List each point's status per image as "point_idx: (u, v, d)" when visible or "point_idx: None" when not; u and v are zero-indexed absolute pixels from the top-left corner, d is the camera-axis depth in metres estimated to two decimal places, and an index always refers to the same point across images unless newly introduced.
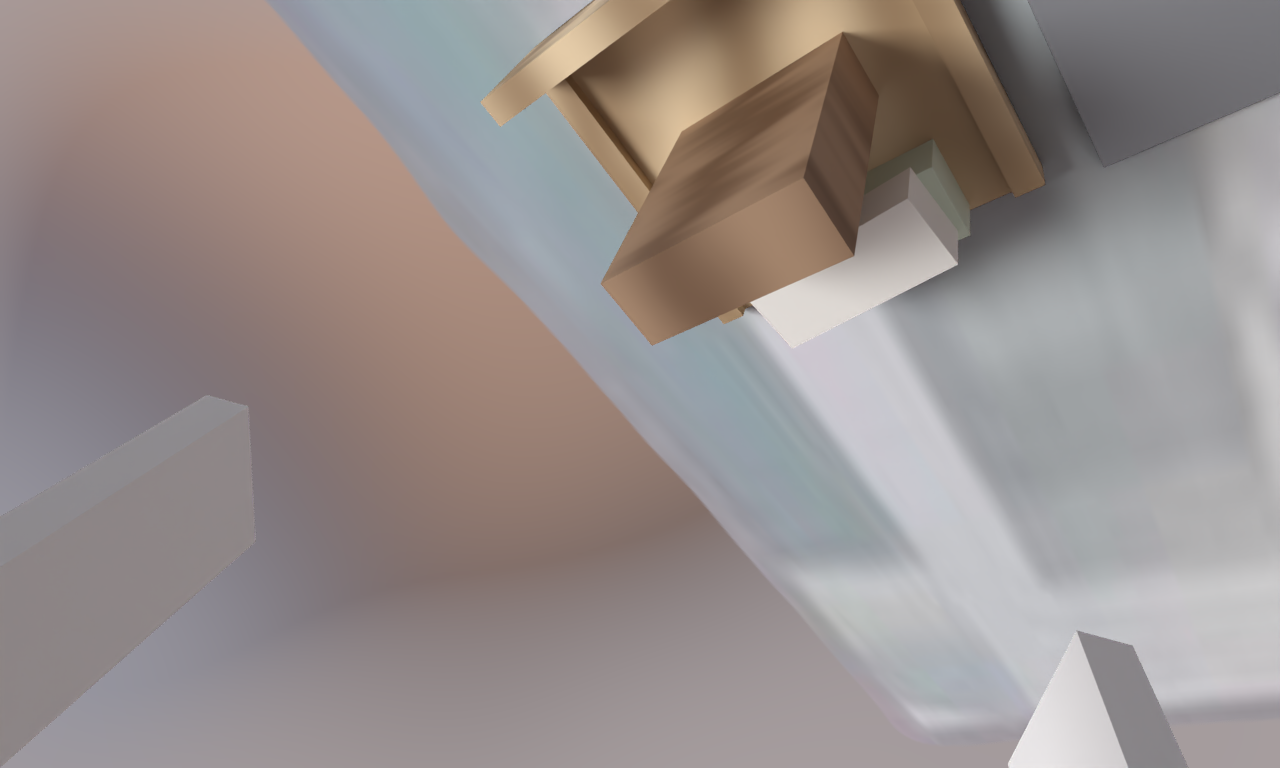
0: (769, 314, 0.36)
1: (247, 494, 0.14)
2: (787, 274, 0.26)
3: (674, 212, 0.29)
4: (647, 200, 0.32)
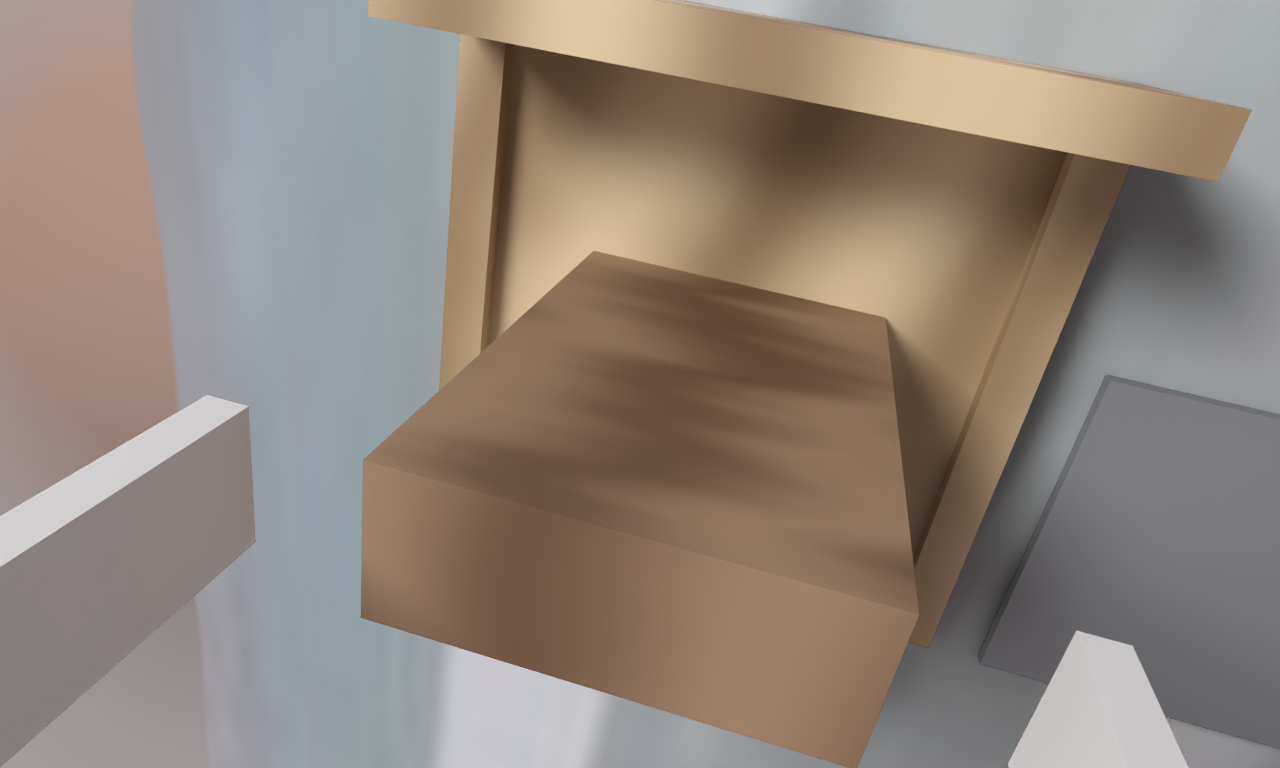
0: None
1: (247, 494, 0.14)
2: (719, 709, 0.12)
3: (575, 416, 0.14)
4: (516, 331, 0.17)
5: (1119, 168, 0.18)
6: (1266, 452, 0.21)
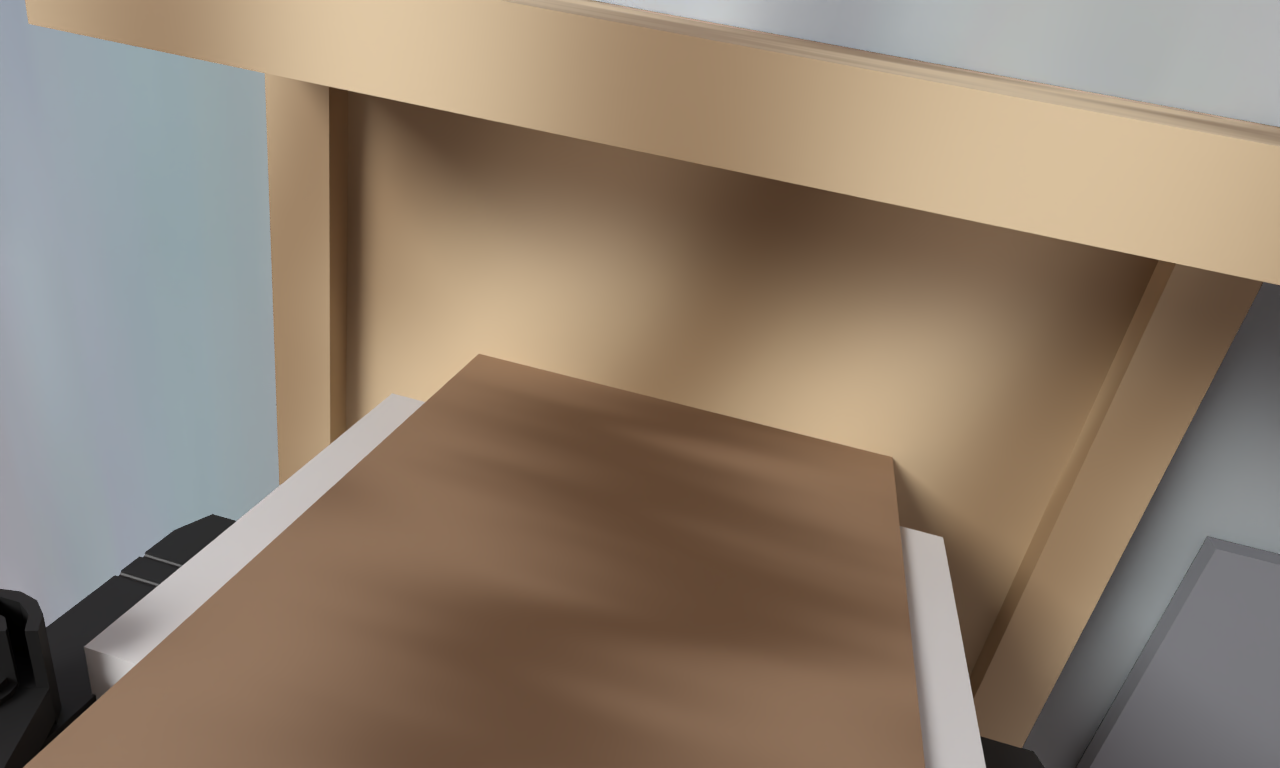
0: None
1: None
2: None
3: None
4: (288, 545, 0.10)
5: None
6: None
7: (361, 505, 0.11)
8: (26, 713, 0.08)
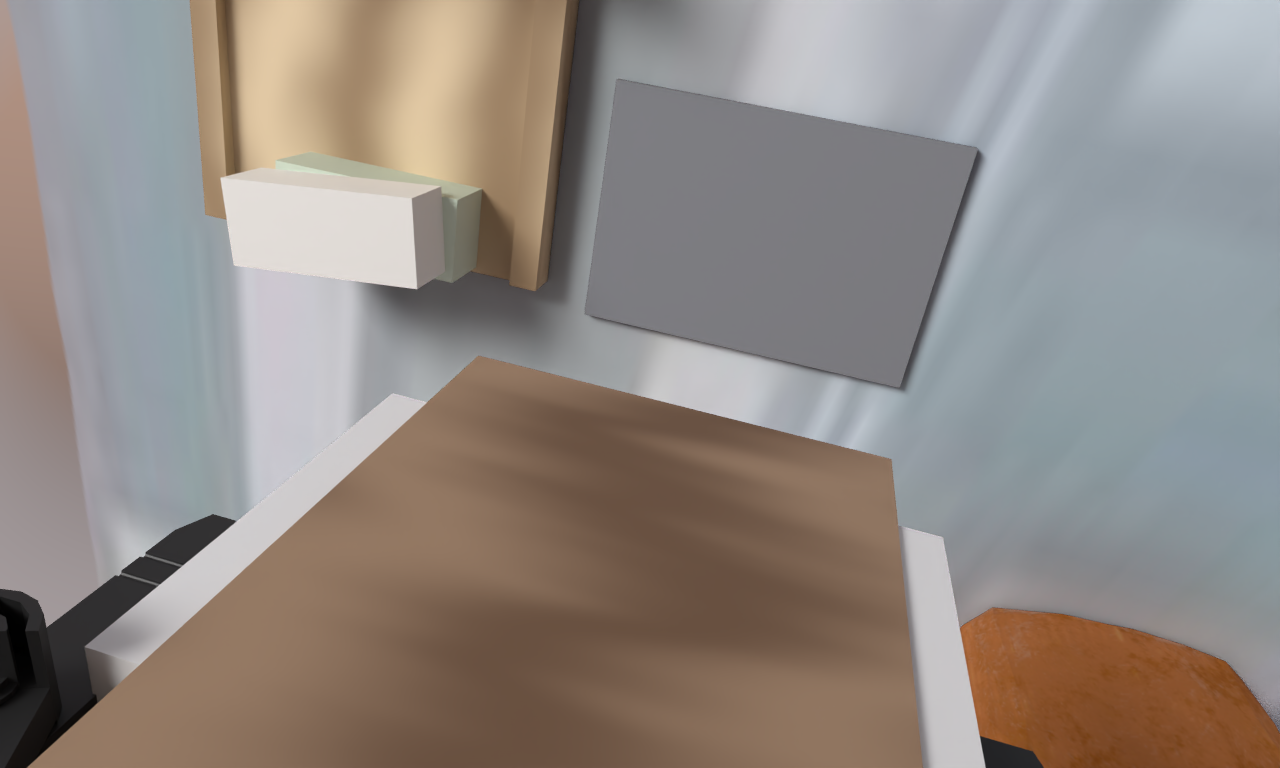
0: (233, 215, 0.32)
1: None
2: None
3: None
4: (288, 547, 0.10)
5: None
6: (716, 124, 0.32)
7: (361, 508, 0.11)
8: (27, 713, 0.08)
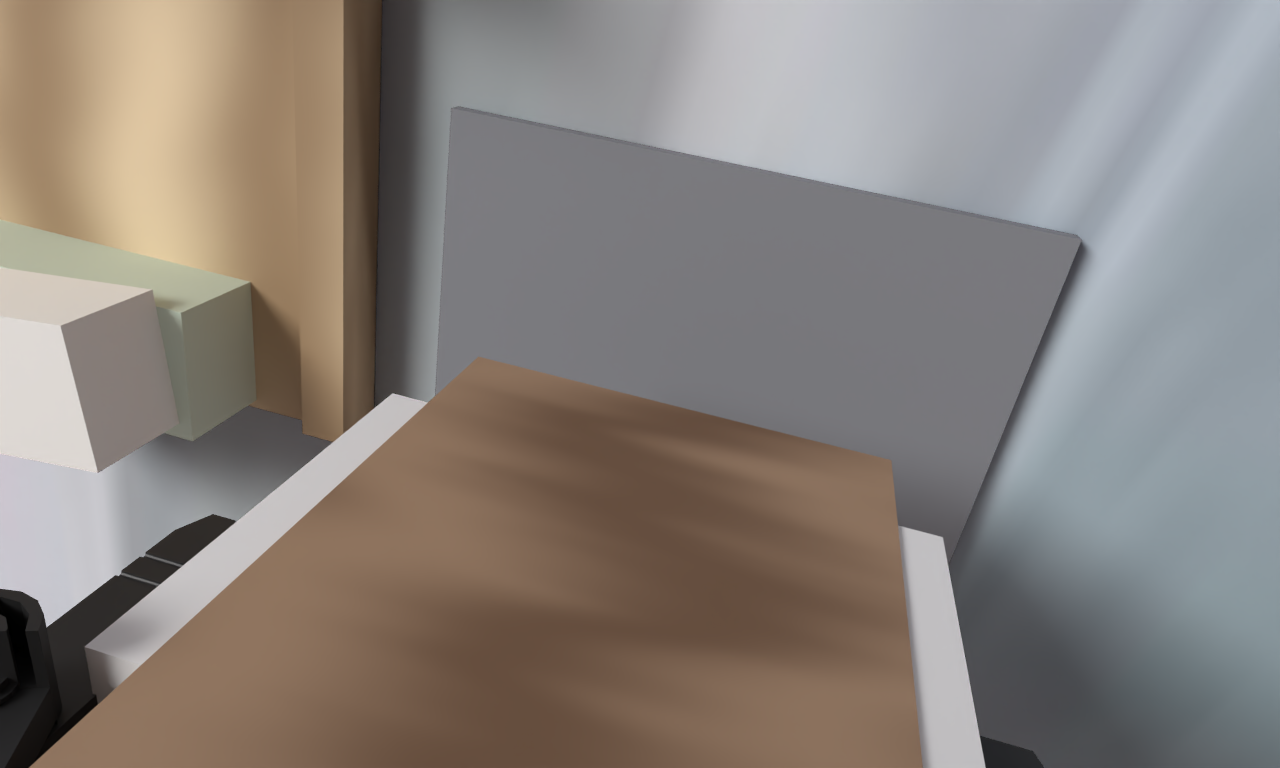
0: None
1: None
2: None
3: None
4: (287, 548, 0.10)
5: None
6: (621, 186, 0.19)
7: (361, 509, 0.11)
8: (27, 713, 0.08)
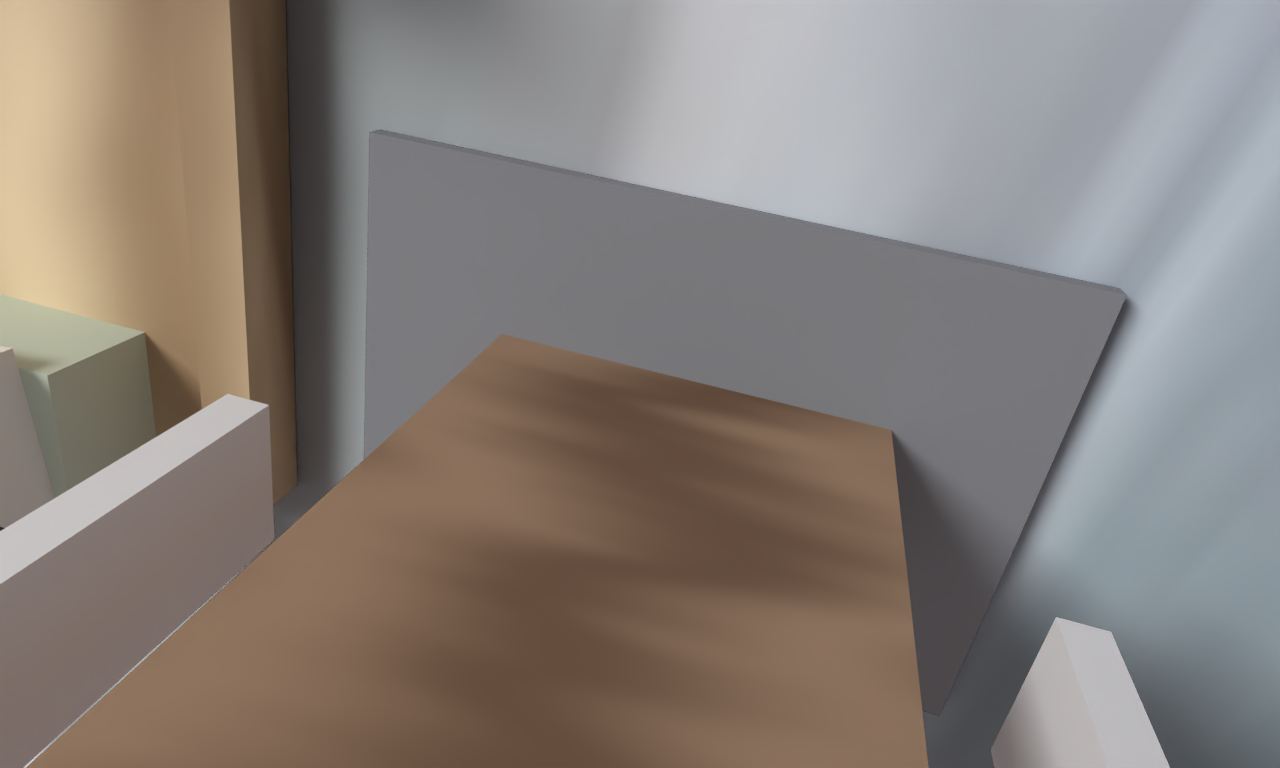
0: None
1: (267, 492, 0.14)
2: None
3: (385, 692, 0.08)
4: (339, 498, 0.11)
5: None
6: (572, 225, 0.16)
7: (403, 465, 0.12)
8: None
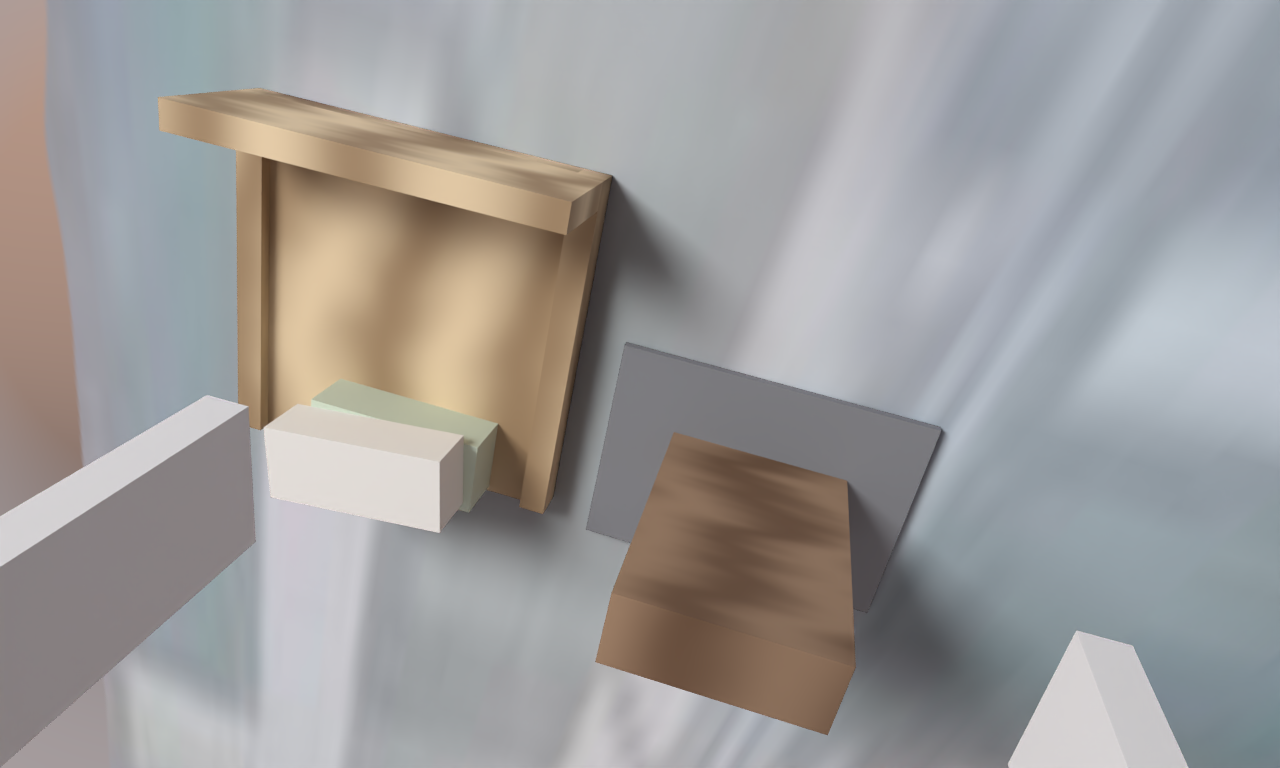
0: (273, 458, 0.36)
1: (247, 494, 0.14)
2: (766, 707, 0.27)
3: (695, 563, 0.29)
4: (650, 506, 0.32)
5: (590, 223, 0.33)
6: (712, 389, 0.36)
7: (665, 494, 0.33)
8: None
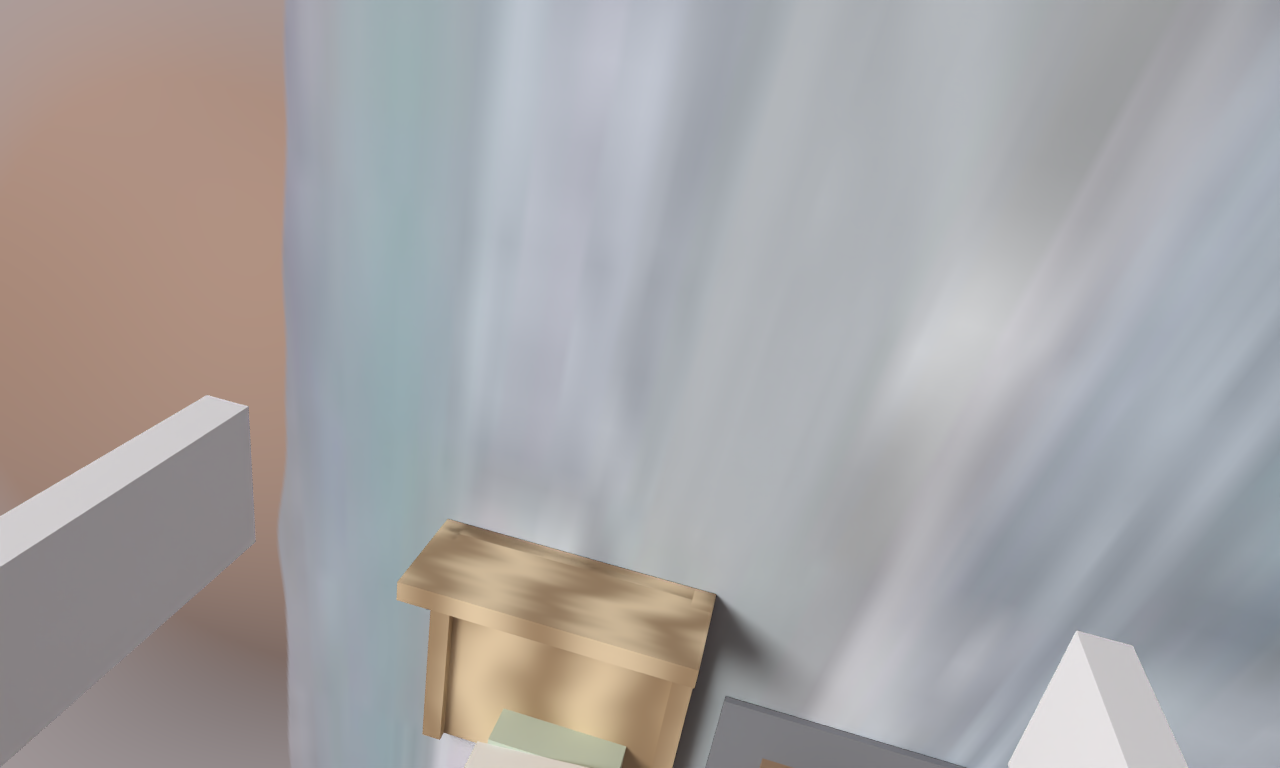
0: None
1: (247, 494, 0.14)
2: None
3: None
4: None
5: None
6: (792, 734, 0.48)
7: None
8: None
